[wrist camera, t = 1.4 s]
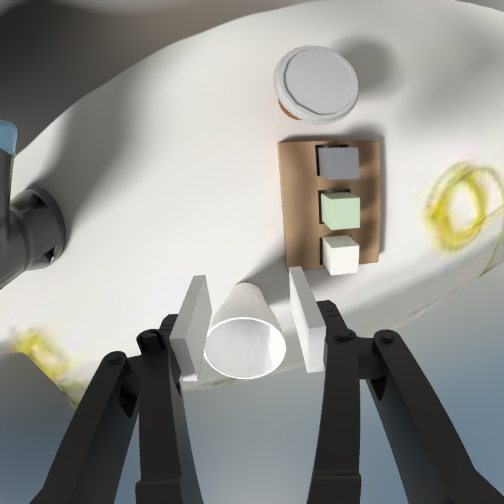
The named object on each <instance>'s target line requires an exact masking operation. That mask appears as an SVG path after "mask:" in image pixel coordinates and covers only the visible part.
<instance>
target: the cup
mask: <svg viewBox="0 0 504 504" xmlns="http://www.w3.org/2000/svg"><path fill="white" fill-rule="evenodd" d="M285 353H286V342H285V338H284V335H283V332H282V328H281V327H280V325H279V323H278V321H277V319H276V317H275V315H274V314H273V312H272V310H271V309H270V307H269V306H268V305H267V303H266V302H265V299H264V296H263V293H262V291H261V290H260V289H259V288H258V287H257V286H256V285H254V284H251V283H239V284H236V285H234V286H233V287H232V288H231V289H230V290H229V292H228V295H227V298H226V300H225V301H224V303H223V304H222V306H221V307H220V308H219V310H218V311H217V312H216V314H215V315H214V317H213V319H212V321H211V322H210V324H209V328H208V333H207V338H206V343H205V348H204V355H205V358H206V360H207V361H208V362H209V364H210V365H211V366H212V367H213V368H214V369H216V370H217V371H218V372H220V373H222V374H224V375H226V376H229V377H233V378H238V379H251V378H258V377H260V376H263V375H266V374H268V373H270V372H271V371H273V370H275V369H276V368H277V367H278V365H279V364H280V363H281V362H282V360H283V358H284V357H285Z"/></svg>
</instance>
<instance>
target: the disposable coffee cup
mask: <svg viewBox="0 0 504 504" xmlns="http://www.w3.org/2000/svg"><path fill="white" fill-rule="evenodd" d="M274 88H275V91H276V94H277V96H278V100H279V104H280V107H281V109H282V110H283V111H284V113H285V114H287V115H288V116H289V117H291V118H293V119H296V120H303V121H306V122H309V123H314V124H329V123H333V122H336V121H339V120H341V119H343V118H344V117H345V116H347V115H348V114H349V113H350V112H351V110H352V109H353V108H354V106H355V104H356V101H357V98H358V79H357V76H356V73H355V71H354V69H353V67H352V66H351V65H350V63H349V62H348V61H347V60H346V59H345V58H344V57H343V56H341V55H340V54H339V53H337V52H335V51H334V50H331V49H329V48H326V47H321V46H303V47H299V48H296V49H294V50H291V51H289V52H288V53H287V54H286V55H284V56H283V57H282V58H281V60H280V61H279V63H278V64H277V67H276V69H275V72H274Z"/></svg>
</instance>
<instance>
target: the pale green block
mask: <svg viewBox="0 0 504 504" xmlns="http://www.w3.org/2000/svg"><path fill="white" fill-rule="evenodd" d="M321 203H322V221H323V222H324V223H325V224H326V225H327V226H328V227H329V228H330V229H331V230H337V229H350V228H360V198H359V197H357V196H355V195H353V194H350V193H348V192H339V193H321Z"/></svg>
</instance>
